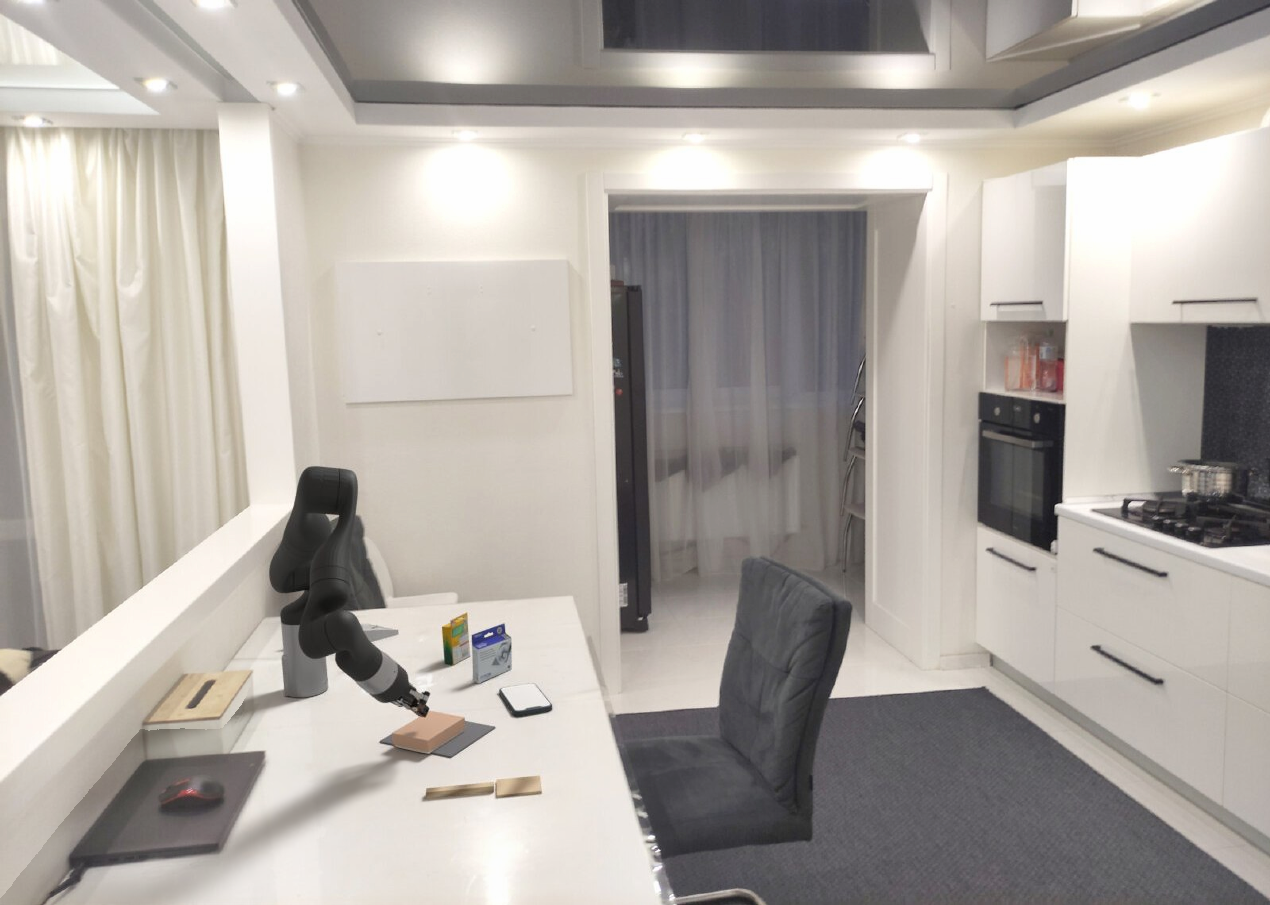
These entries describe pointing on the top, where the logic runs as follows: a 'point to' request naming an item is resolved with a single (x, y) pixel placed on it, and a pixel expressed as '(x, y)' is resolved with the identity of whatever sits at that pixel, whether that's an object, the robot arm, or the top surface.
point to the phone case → (525, 699)
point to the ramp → (378, 632)
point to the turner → (491, 788)
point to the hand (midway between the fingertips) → (424, 712)
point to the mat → (457, 739)
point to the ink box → (491, 653)
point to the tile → (428, 732)
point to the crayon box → (456, 640)
